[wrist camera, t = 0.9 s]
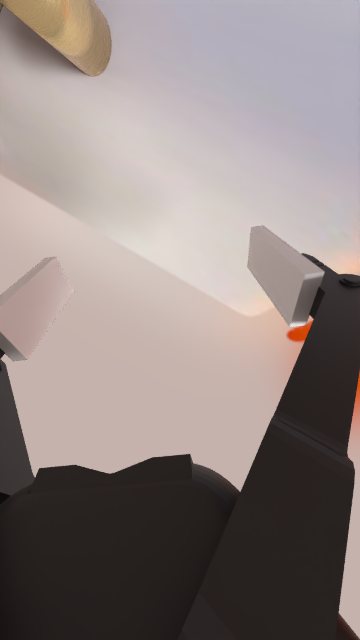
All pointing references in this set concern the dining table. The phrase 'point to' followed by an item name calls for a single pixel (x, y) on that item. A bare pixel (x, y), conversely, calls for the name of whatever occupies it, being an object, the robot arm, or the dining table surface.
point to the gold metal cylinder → (69, 29)
